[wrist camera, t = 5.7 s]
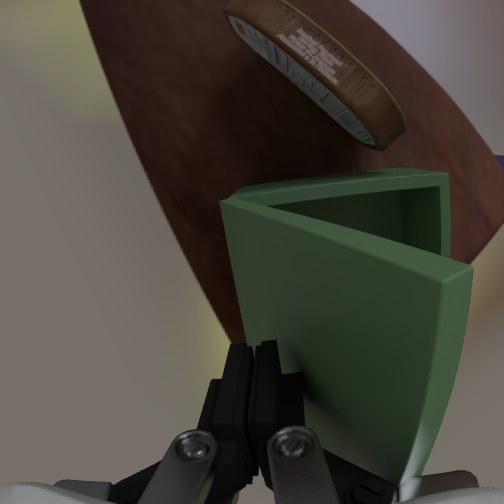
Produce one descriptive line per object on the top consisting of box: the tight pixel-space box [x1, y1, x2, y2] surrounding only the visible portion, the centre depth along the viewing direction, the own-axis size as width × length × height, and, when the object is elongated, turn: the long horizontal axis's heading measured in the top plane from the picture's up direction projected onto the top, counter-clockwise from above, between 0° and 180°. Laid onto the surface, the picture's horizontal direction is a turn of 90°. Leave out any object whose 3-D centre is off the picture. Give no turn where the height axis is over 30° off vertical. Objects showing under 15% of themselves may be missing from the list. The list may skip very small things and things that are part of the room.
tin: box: [222, 0, 407, 151], centre depth 18 cm, size 15×3×8 cm, turn 47°
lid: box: [220, 198, 473, 488], centre depth 12 cm, size 14×11×1 cm
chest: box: [228, 168, 451, 259], centre depth 22 cm, size 14×11×8 cm
